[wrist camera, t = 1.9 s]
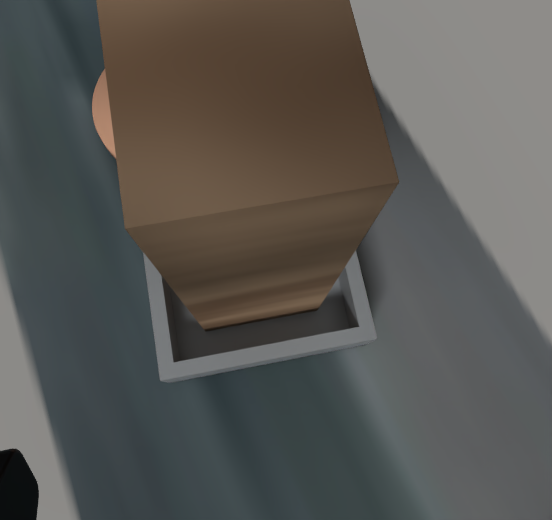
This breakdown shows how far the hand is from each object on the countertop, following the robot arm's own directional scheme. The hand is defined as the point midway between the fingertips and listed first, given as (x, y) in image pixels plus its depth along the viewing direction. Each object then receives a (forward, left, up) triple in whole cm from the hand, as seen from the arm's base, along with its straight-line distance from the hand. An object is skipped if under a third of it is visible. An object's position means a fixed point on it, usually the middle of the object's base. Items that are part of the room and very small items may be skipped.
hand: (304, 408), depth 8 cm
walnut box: (+4, +4, -14) cm, 15 cm away
